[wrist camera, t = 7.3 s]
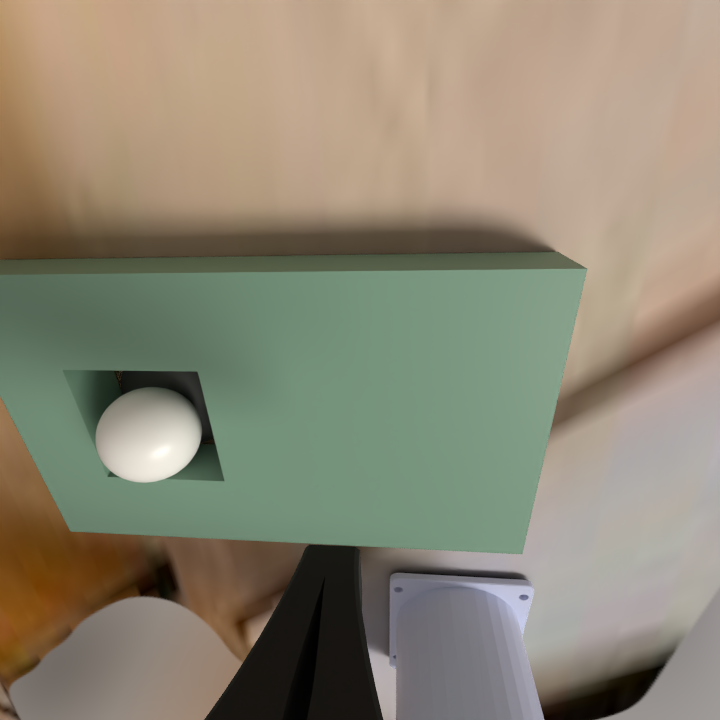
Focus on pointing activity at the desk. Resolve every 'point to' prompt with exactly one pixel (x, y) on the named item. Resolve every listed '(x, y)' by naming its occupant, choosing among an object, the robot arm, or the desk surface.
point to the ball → (148, 434)
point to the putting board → (299, 390)
